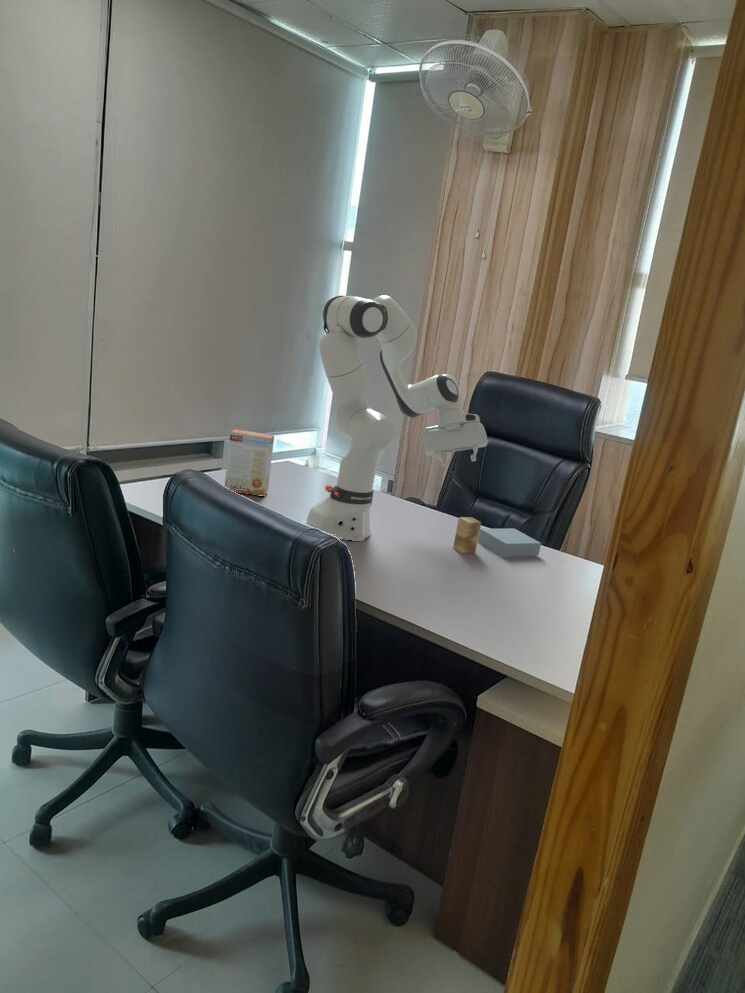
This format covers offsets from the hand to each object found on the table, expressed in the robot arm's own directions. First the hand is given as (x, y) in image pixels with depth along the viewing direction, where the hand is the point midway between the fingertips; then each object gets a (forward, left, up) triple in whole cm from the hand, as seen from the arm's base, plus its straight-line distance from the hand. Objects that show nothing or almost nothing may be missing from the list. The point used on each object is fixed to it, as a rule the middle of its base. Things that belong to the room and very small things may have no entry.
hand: (459, 463), depth 248 cm
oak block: (0, -11, -25) cm, 27 cm away
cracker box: (-52, +47, -25) cm, 74 cm away
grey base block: (+17, -11, -25) cm, 33 cm away
